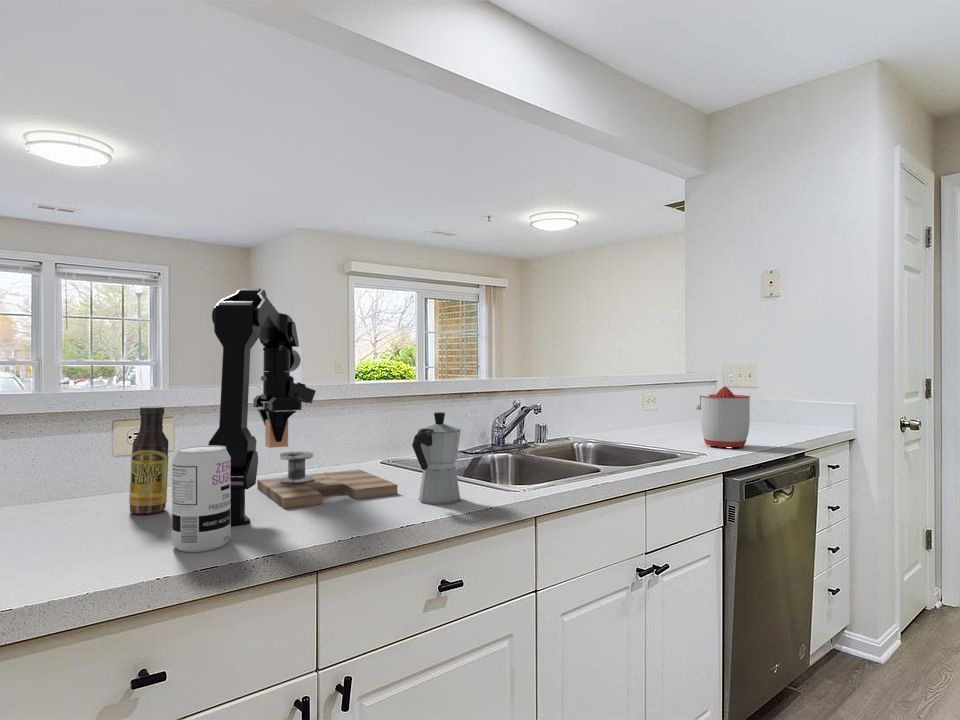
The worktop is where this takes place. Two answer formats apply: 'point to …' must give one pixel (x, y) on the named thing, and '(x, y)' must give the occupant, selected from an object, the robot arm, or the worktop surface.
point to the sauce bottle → (149, 464)
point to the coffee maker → (438, 461)
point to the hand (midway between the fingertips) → (276, 440)
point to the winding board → (326, 488)
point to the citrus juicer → (725, 418)
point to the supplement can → (201, 498)
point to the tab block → (270, 437)
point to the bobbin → (296, 467)
